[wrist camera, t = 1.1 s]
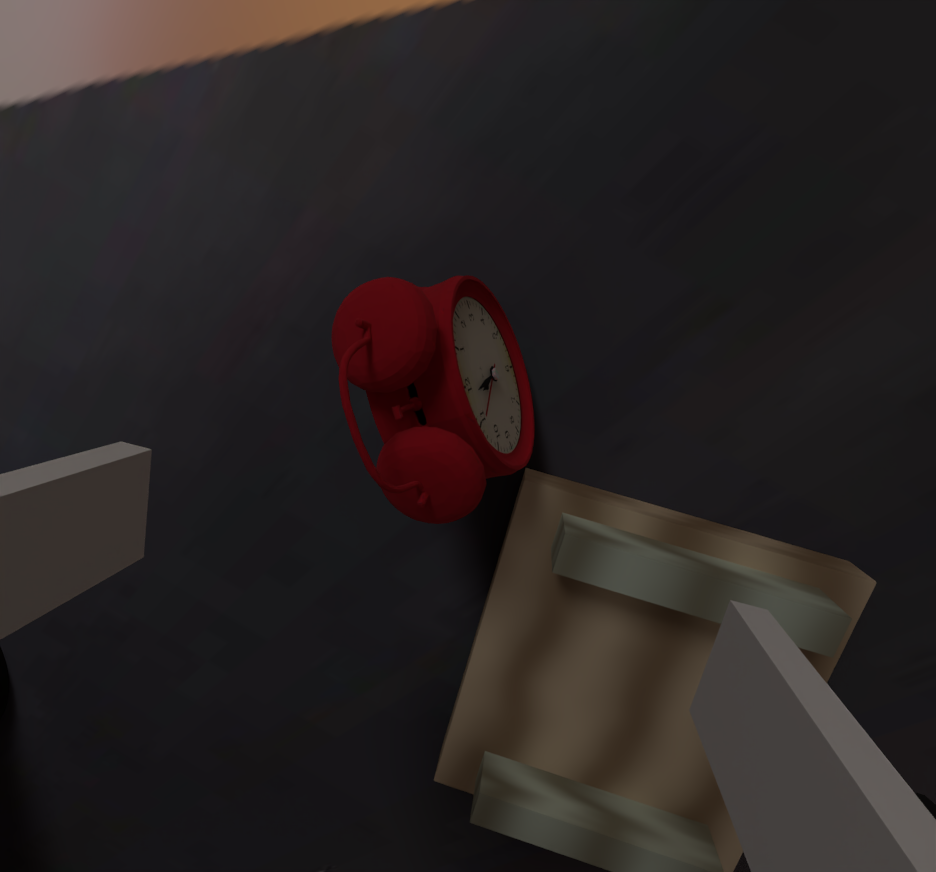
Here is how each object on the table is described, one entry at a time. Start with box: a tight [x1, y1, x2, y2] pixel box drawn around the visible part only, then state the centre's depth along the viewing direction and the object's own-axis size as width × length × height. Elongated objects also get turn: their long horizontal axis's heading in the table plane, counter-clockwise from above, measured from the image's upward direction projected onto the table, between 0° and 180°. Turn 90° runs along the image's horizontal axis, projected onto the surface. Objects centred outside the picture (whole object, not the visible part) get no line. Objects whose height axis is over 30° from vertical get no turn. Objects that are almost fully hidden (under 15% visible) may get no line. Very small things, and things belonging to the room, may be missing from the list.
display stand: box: [434, 468, 877, 872], centre depth 30 cm, size 19×21×6 cm
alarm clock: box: [332, 276, 535, 524], centre depth 23 cm, size 10×6×15 cm, turn 18°
